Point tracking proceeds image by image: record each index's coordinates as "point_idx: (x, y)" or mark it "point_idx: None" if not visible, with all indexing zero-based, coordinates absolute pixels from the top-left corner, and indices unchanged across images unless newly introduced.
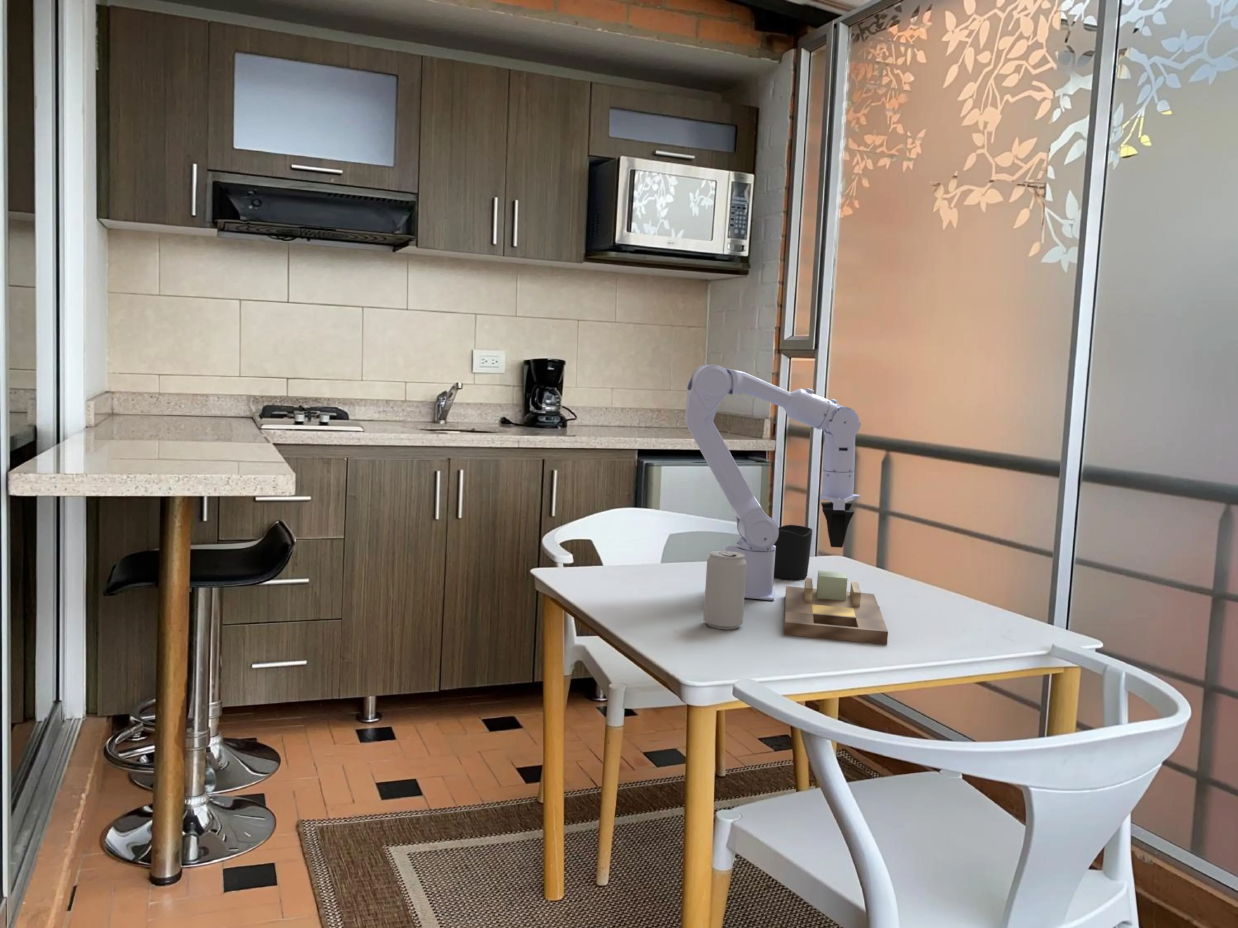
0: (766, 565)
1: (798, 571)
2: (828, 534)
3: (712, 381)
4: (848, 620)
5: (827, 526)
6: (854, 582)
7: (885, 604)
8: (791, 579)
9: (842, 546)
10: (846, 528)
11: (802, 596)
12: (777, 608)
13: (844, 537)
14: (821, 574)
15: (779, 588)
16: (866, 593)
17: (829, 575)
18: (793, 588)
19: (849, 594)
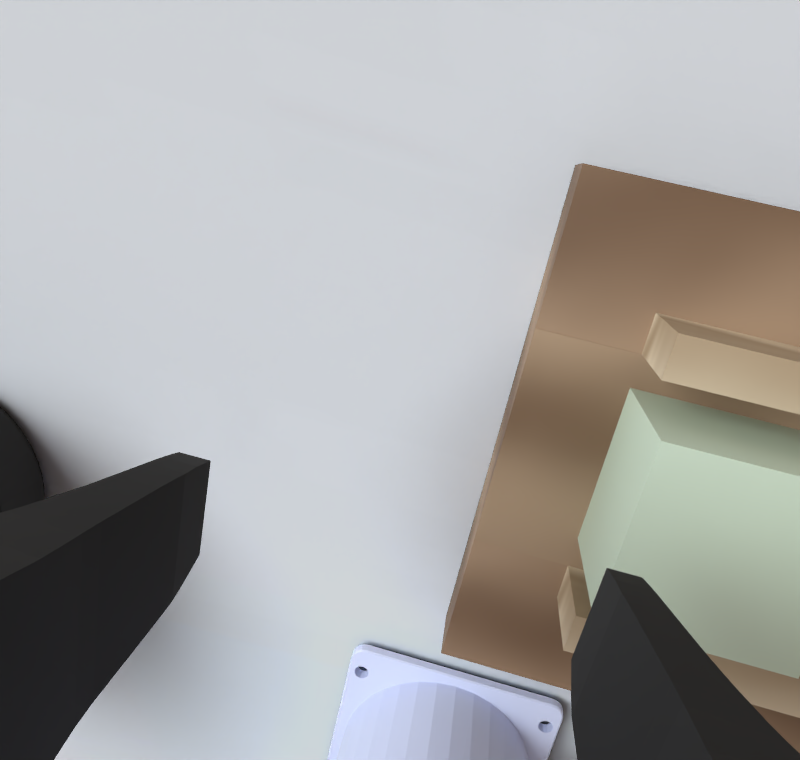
0: None
1: (2, 461)
2: (170, 599)
3: None
4: None
5: (114, 672)
6: (690, 362)
7: (559, 70)
8: (40, 474)
9: (647, 583)
10: (795, 755)
11: None
12: None
13: (699, 650)
14: (741, 643)
15: (260, 588)
16: (574, 217)
17: (776, 599)
18: (495, 632)
19: (624, 352)
